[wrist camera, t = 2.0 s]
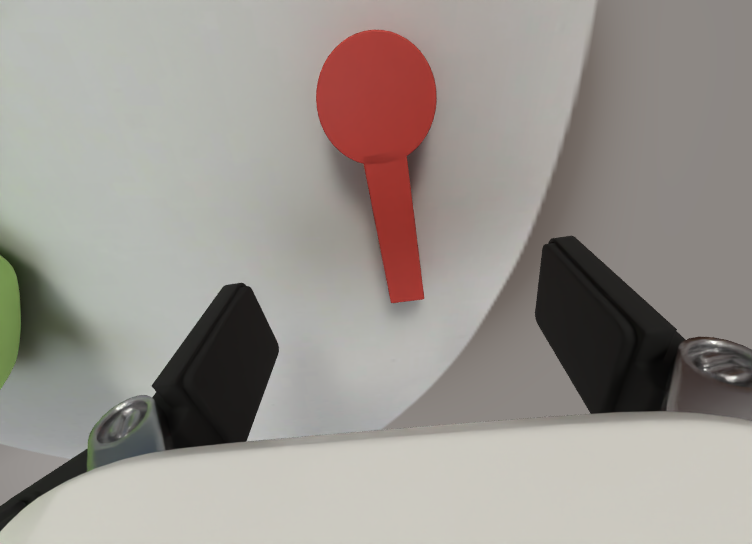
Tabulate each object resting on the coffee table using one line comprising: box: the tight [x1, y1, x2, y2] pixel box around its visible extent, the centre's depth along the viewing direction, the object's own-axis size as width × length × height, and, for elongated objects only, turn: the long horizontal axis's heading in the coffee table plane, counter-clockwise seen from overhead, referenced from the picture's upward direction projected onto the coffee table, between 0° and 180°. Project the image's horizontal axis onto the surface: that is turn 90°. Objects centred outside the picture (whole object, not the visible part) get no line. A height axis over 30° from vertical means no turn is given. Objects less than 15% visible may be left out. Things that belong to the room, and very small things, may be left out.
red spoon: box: [316, 30, 436, 303], centre depth 13 cm, size 4×10×2 cm, turn 10°
